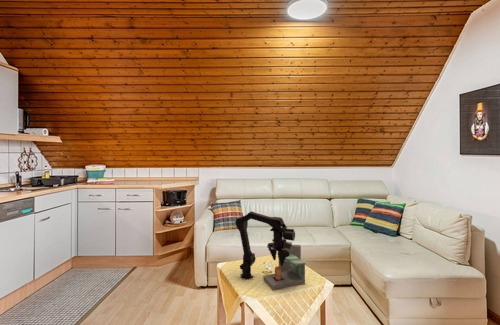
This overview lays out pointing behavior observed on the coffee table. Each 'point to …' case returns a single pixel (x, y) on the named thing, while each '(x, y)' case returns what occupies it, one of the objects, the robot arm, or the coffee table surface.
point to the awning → (296, 265)
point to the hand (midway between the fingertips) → (278, 263)
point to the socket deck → (283, 280)
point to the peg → (277, 273)
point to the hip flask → (293, 250)
